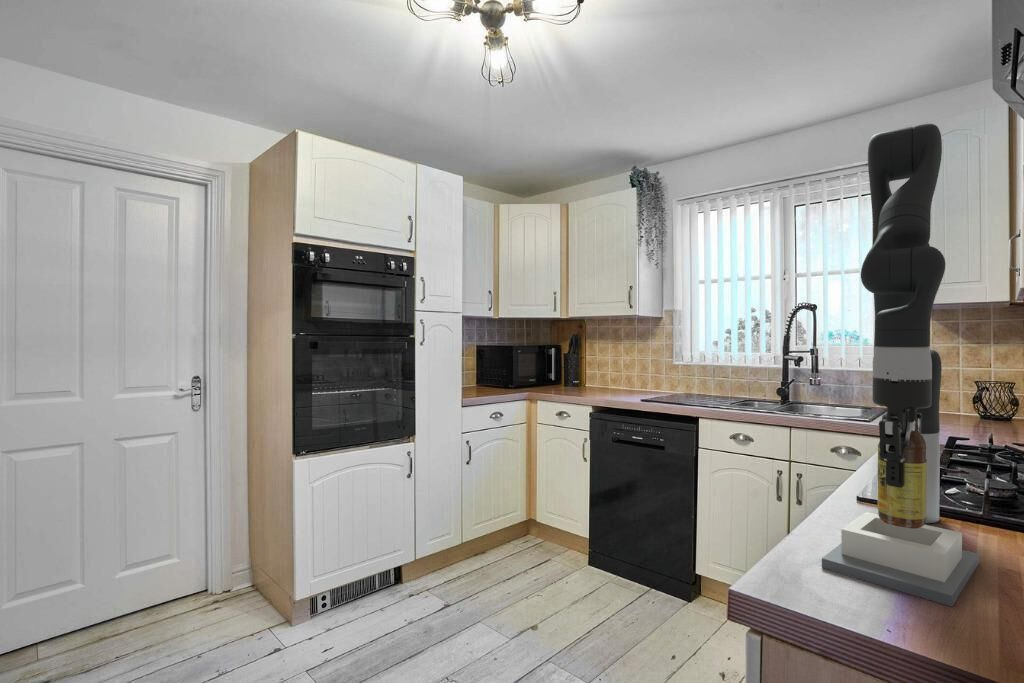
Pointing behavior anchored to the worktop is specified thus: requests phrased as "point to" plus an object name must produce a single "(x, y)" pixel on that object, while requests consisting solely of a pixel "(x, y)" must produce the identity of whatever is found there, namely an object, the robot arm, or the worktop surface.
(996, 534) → the worktop surface
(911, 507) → the sauce bottle
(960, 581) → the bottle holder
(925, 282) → the robot arm
